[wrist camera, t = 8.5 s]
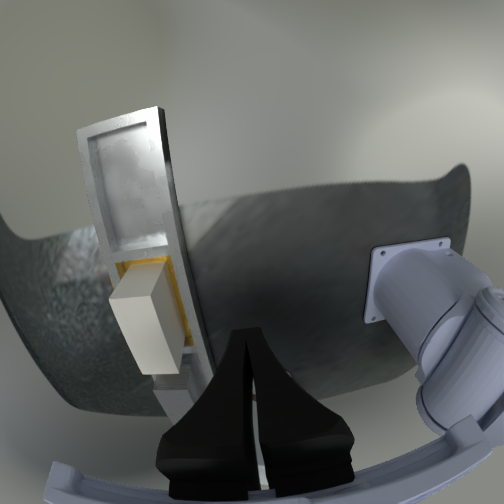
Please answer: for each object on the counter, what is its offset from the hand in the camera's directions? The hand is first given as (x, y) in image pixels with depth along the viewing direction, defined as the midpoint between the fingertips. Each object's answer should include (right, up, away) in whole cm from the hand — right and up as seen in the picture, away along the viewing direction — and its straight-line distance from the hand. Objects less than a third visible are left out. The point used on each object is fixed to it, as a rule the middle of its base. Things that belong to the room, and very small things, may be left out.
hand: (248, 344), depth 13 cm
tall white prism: (-7, 0, +9) cm, 12 cm away
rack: (-7, +1, +10) cm, 12 cm away
